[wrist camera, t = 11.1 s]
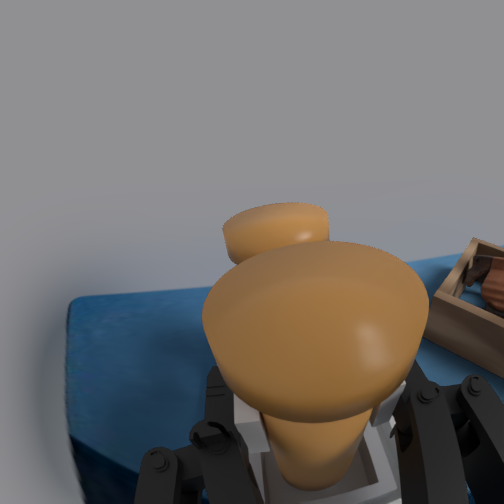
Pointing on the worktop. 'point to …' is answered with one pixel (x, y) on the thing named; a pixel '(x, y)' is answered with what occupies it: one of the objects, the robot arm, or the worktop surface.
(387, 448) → the housing
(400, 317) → the wooden peg
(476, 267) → the pottery mug
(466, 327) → the mug caddy
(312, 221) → the seated peg
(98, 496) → the worktop surface
